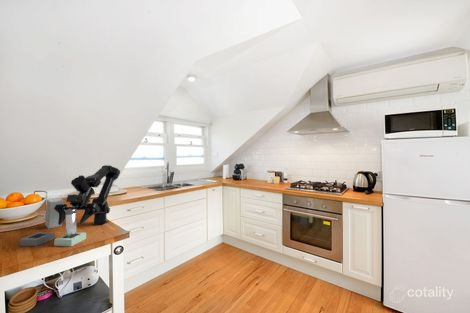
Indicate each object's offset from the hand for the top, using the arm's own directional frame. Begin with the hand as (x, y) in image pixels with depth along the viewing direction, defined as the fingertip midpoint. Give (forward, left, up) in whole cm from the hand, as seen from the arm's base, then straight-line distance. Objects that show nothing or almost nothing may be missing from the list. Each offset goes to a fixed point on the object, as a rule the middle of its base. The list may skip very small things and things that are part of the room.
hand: (69, 224), depth 95 cm
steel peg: (-1, 0, -9) cm, 9 cm away
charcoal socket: (0, -16, -9) cm, 18 cm away
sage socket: (-1, 0, -9) cm, 9 cm away
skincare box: (-21, -29, -9) cm, 37 cm away
